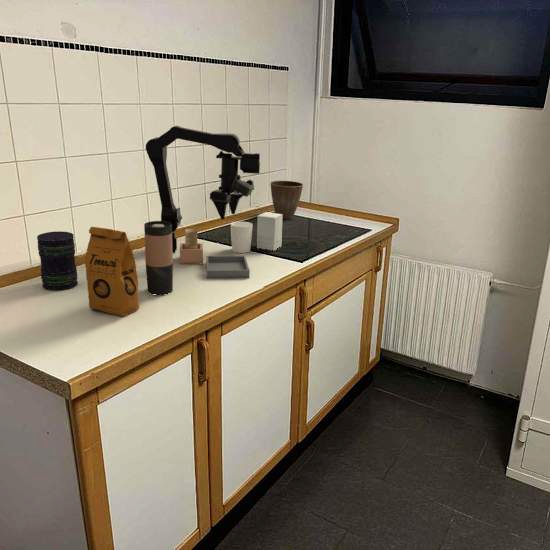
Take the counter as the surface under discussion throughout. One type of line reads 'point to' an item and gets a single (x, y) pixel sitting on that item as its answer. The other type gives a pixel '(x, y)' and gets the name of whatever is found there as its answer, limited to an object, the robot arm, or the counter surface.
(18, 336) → the counter surface
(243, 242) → the white cup
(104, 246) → the coffee package
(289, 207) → the plant pot
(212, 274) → the charcoal tray
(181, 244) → the pink open box
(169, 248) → the travel mug
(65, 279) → the storage jar
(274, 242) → the supplement box
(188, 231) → the wooden peg
